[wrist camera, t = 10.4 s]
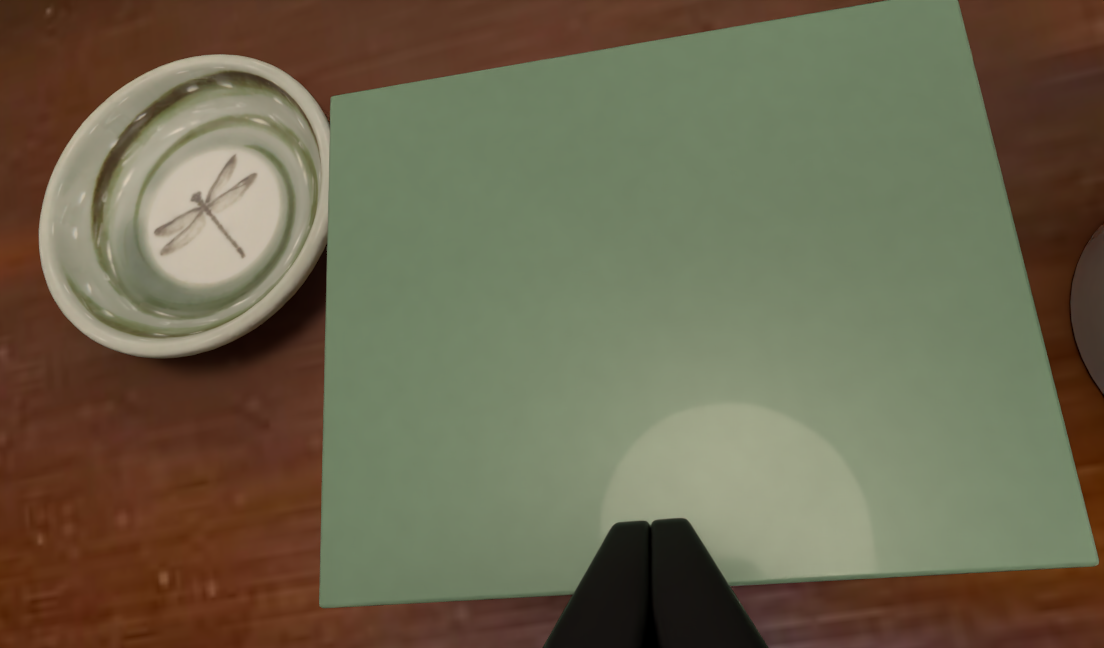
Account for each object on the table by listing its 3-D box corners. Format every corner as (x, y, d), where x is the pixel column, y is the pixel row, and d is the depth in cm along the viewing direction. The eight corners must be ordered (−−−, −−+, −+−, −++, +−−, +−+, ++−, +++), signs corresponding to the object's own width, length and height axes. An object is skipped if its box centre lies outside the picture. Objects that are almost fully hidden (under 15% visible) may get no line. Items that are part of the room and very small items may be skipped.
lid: (345, 115, 17) (329, 94, 16) (943, 14, 15) (956, -14, 14) (338, 604, 14) (316, 608, 13) (1077, 564, 12) (1103, 566, 11)
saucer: (236, 434, 23) (184, 423, 20) (43, 271, 26) (-22, 246, 23) (428, 177, 24) (399, 139, 22) (221, 49, 27) (175, 3, 24)
